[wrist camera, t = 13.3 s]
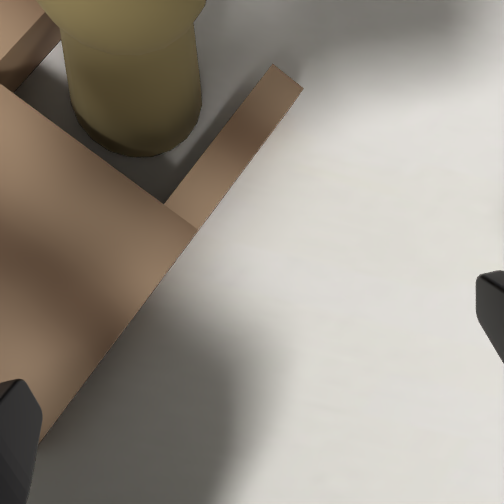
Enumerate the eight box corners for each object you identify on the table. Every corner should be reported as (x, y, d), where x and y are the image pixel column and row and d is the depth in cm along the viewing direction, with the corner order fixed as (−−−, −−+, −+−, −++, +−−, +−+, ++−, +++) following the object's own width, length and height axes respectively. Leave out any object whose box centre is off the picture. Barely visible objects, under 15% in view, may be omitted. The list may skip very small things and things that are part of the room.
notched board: (33, 451, 20) (15, 473, 17) (-223, 285, 18) (-280, 285, 16) (289, 109, 23) (303, 88, 21) (88, -50, 22) (79, -91, 19)
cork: (112, 180, 21) (58, 64, 10) (44, 65, 21) (-82, -174, 10) (225, 122, 22) (281, -36, 12) (161, 13, 22) (158, -250, 11)
